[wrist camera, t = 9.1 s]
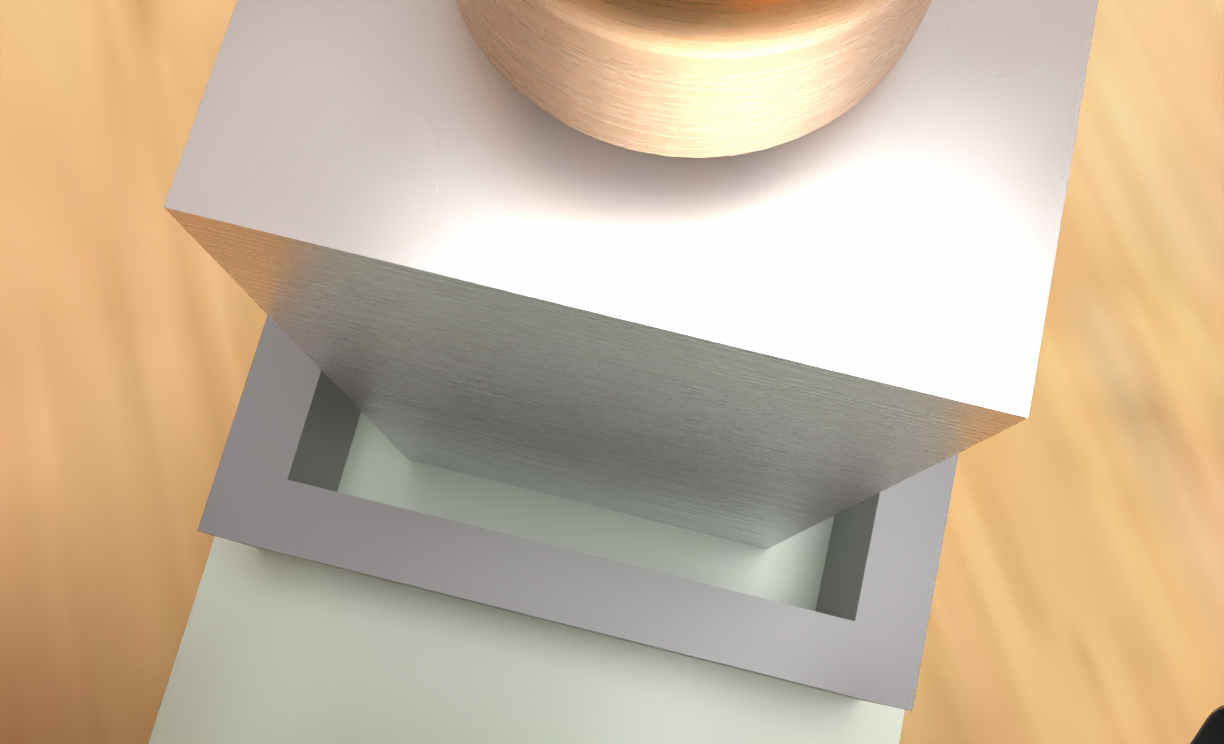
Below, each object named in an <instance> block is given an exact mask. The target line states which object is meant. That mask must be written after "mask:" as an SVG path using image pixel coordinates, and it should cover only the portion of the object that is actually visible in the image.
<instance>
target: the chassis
mask: <svg viewBox="0 0 1224 744" xmlns="http://www.w3.org/2000/svg"><path fill="white" fill-rule="evenodd" d="M957 458H958V453H957V454H955V455H953V456H952V457H950V458H948V459H946V460H944V461H942V462H940V463H938V464H936V465H934V466H932V467H930V468H928V469H926V470H924V471H922V472H920V473H918V474H916V475H914V476H912V477H910V478H908V479H906V480H904V481H902V482H900V483H898V484H896V485H894V486H892V487H890V488H888V489H886V490H884V491H882V492H880V493H878V494H876V495H874V496H872V497H870V498H868V499H866V500H864V501H862V502H860V503H858V504H856V505H854V506H852V507H850V508H848V509H846V510H844V511H842V512H840V513H838V514H836V515H834V516H832V517H830V518H828V519H826V520H824V521H822V522H820V523H818V524H816V525H814V526H812V527H810V528H808V529H806V530H804V531H802V532H800V533H798V534H796V535H794V536H792V537H790V538H789V539H787V540H785V541H783V542H781V543H779V544H777V545H775V546H773V547H771V548H769V549H765V548H761V547H757V546H753V545H749V544H745V543H740V542H736V541H732V540H728V539H724V538H720V537H716V536H712V535H708V534H704V533H700V532H696V531H692V530H688V529H684V528H680V527H676V526H672V525H668V524H664V523H660V522H656V521H652V520H648V519H644V518H640V517H636V516H632V515H628V514H624V513H620V512H616V511H612V510H608V509H604V508H600V507H596V506H592V505H588V504H584V503H580V502H576V501H572V500H568V499H564V498H560V497H556V496H552V495H548V494H544V493H540V492H536V491H532V490H528V489H524V488H520V487H516V486H512V485H508V484H504V483H500V482H496V481H492V480H488V479H484V478H480V477H476V476H472V475H468V474H464V473H460V472H456V471H452V470H448V469H444V468H440V467H436V466H432V465H428V464H424V463H420V462H416V461H412V460H408V459H407V458H406V457H405V456H404V455H403V454H402V453H401V452H400V451H399V450H398V449H397V448H396V446H395V445H394V444H393V443H392V442H391V441H390V440H389V439H388V438H387V437H386V436H385V435H384V434H383V433H382V432H381V431H380V430H379V429H378V428H377V427H376V426H375V425H374V424H373V423H372V422H371V421H370V420H369V419H368V418H367V417H366V416H365V414H364V413H363V412H362V411H361V410H360V409H359V408H358V407H357V406H356V405H355V404H354V403H353V402H352V401H351V400H350V399H349V398H348V397H347V396H346V395H345V394H344V393H343V392H342V391H341V390H340V389H339V388H338V387H337V386H336V385H335V384H334V382H333V381H332V380H331V379H330V378H329V377H328V376H327V375H326V374H325V373H324V372H323V371H322V370H321V369H320V368H319V367H318V366H317V365H316V364H315V363H314V362H313V361H312V360H311V359H310V358H309V357H308V356H307V355H306V354H305V353H304V352H303V350H302V349H301V348H300V347H299V346H298V345H297V344H296V343H295V342H294V341H293V340H292V339H291V338H290V337H289V336H288V335H287V334H286V333H285V332H284V331H283V330H282V329H281V328H280V327H279V326H278V325H277V324H276V323H275V322H274V321H273V320H272V318H271V317H270V316H269V315H268V316H267V319H266V322H265V325H264V328H263V331H262V334H261V337H260V340H259V343H258V346H257V350H256V353H255V356H254V359H253V362H252V365H251V368H250V371H249V374H248V377H247V380H246V383H245V386H244V390H243V393H242V396H241V399H240V402H239V405H238V408H237V411H236V414H235V417H234V420H233V423H232V426H231V430H230V433H229V436H228V439H227V442H226V445H225V448H224V451H223V454H222V457H221V460H220V463H219V466H218V469H217V473H216V476H215V479H214V482H213V485H212V488H211V491H210V494H209V497H208V500H207V503H206V506H205V509H204V513H203V516H202V519H201V522H200V525H199V528H198V531H199V532H202V533H206V534H209V535H213V536H215V538H214V541H213V544H212V547H211V550H210V553H209V556H208V559H207V562H206V566H205V569H204V572H203V575H202V578H201V581H200V584H199V587H198V590H197V594H196V597H195V600H194V603H193V606H192V609H191V612H190V615H189V618H188V622H187V625H186V628H185V631H184V634H183V637H182V640H181V643H180V646H179V650H178V653H177V656H176V659H175V662H174V665H173V668H172V671H171V674H170V678H169V681H168V684H167V687H166V690H165V693H164V696H163V699H162V702H161V706H160V709H159V712H158V715H157V718H156V721H155V724H154V727H153V730H152V734H151V737H150V740H149V743H148V744H899V741H900V735H901V730H902V724H903V719H904V713H905V710H909V711H912V709H913V703H914V697H915V692H916V686H917V681H918V675H919V670H920V664H921V658H922V653H923V647H924V642H925V636H926V631H927V625H928V620H929V614H930V608H931V603H932V597H933V592H934V586H935V581H936V575H937V569H938V564H939V558H940V553H941V547H942V542H943V536H944V530H945V525H946V519H947V514H948V508H949V503H950V497H951V492H952V486H953V480H954V475H955V469H956V464H957Z"/></svg>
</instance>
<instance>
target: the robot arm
mask: <svg viewBox="0 0 1224 744" xmlns="http://www.w3.org/2000/svg"><path fill="white" fill-rule="evenodd" d="M1190 744H1224V705H1223V706H1220V707H1219V708H1217V709H1216V710H1214V711H1213V712H1212V713H1211V714H1210V715H1209V717H1208V718H1207V719H1206V721H1205V722H1204V724H1203V725H1202V727H1201V728H1200V730H1199V731H1198V733H1197V734H1196V736H1195V737H1194V739H1193V740H1192V742H1191V743H1190Z"/></svg>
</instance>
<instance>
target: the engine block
mask: <svg viewBox="0 0 1224 744" xmlns="http://www.w3.org/2000/svg"><path fill="white" fill-rule="evenodd" d="M1097 4H1098V0H237V2H236V5H235V8H234V11H233V13H232V16H231V19H230V22H229V25H228V27H227V30H226V33H225V36H224V39H223V41H222V44H221V47H220V50H219V53H218V56H217V58H216V61H215V64H214V67H213V70H212V72H211V75H210V78H209V81H208V84H207V87H206V89H205V92H204V95H203V98H202V101H201V103H200V106H199V109H198V112H197V115H196V118H195V120H194V123H193V126H192V129H191V132H190V134H189V137H188V140H187V143H186V146H185V148H184V151H183V154H182V157H181V160H180V163H179V165H178V168H177V171H176V174H175V177H174V179H173V182H172V185H171V188H170V191H169V194H168V196H167V199H166V202H165V205H164V208H165V209H166V210H167V211H168V212H169V213H170V214H171V215H172V216H173V217H174V218H175V219H176V220H177V221H178V222H179V224H180V225H181V226H182V227H183V228H184V229H185V230H186V231H187V232H188V233H189V234H190V235H191V236H192V237H193V238H194V239H195V240H196V241H197V242H198V243H199V244H200V245H201V246H202V247H203V248H204V249H205V250H206V251H207V252H208V253H209V254H210V256H211V257H212V258H213V259H214V260H215V261H216V262H217V263H218V264H219V265H220V266H221V267H222V268H223V269H224V270H225V271H226V272H227V273H228V274H229V275H230V276H231V277H232V278H233V279H234V280H235V281H236V282H237V283H238V284H239V285H240V286H241V288H242V289H243V290H244V291H245V292H246V293H247V294H248V295H249V296H250V297H251V298H252V299H253V300H254V301H255V302H256V303H257V304H258V305H259V306H260V307H261V308H262V309H263V310H264V311H265V312H266V313H267V314H268V315H269V316H270V317H271V318H272V320H273V321H274V322H275V323H276V324H277V325H278V326H279V327H280V328H281V329H282V330H283V331H284V332H285V333H286V334H287V335H288V336H289V337H290V338H291V339H292V340H293V341H294V342H295V343H296V344H297V345H298V346H299V347H300V348H301V349H302V350H303V352H304V353H305V354H306V355H307V356H308V357H309V358H310V359H311V360H312V361H313V362H314V363H315V364H316V365H317V366H318V367H319V368H320V369H321V370H322V371H323V372H324V373H325V374H326V375H327V376H328V377H329V378H330V379H331V380H332V381H333V382H334V384H335V385H336V386H337V387H338V388H339V389H340V390H341V391H342V392H343V393H344V394H345V395H346V396H347V397H348V398H349V399H350V400H351V401H352V402H353V403H354V404H355V405H356V406H357V407H358V408H359V409H360V410H361V411H362V412H363V413H364V414H365V416H366V417H367V418H368V419H369V420H370V421H371V422H372V423H373V424H374V425H375V426H376V427H377V428H378V429H379V430H380V431H381V432H382V433H383V434H384V435H385V436H386V437H387V438H388V439H389V440H390V441H391V442H392V443H393V444H394V445H395V446H396V448H397V449H398V450H399V451H400V452H401V453H402V454H403V455H404V456H405V457H406V458H407V459H408V460H412V461H416V462H420V463H424V464H428V465H432V466H436V467H440V468H444V469H448V470H452V471H456V472H460V473H464V474H468V475H472V476H476V477H480V478H484V479H488V480H492V481H496V482H500V483H504V484H508V485H512V486H516V487H520V488H524V489H528V490H532V491H536V492H540V493H544V494H548V495H552V496H556V497H560V498H564V499H568V500H572V501H576V502H580V503H584V504H588V505H592V506H596V507H600V508H604V509H608V510H612V511H616V512H620V513H624V514H628V515H632V516H636V517H640V518H644V519H648V520H652V521H656V522H660V523H664V524H668V525H672V526H676V527H680V528H684V529H688V530H692V531H696V532H700V533H704V534H708V535H712V536H716V537H720V538H724V539H728V540H732V541H736V542H740V543H745V544H749V545H753V546H757V547H761V548H765V549H769V548H771V547H773V546H775V545H777V544H779V543H781V542H783V541H785V540H787V539H789V538H790V537H792V536H794V535H796V534H798V533H800V532H802V531H804V530H806V529H808V528H810V527H812V526H814V525H816V524H818V523H820V522H822V521H824V520H826V519H828V518H830V517H832V516H834V515H836V514H838V513H840V512H842V511H844V510H846V509H848V508H850V507H852V506H854V505H856V504H858V503H860V502H862V501H864V500H866V499H868V498H870V497H872V496H874V495H876V494H878V493H880V492H882V491H884V490H886V489H888V488H890V487H892V486H894V485H896V484H898V483H900V482H902V481H904V480H906V479H908V478H910V477H912V476H914V475H916V474H918V473H920V472H922V471H924V470H926V469H928V468H930V467H932V466H934V465H936V464H938V463H940V462H942V461H944V460H946V459H948V458H950V457H952V456H953V455H955V454H957V453H959V452H961V451H963V450H965V449H967V448H969V447H971V446H973V445H975V444H977V443H979V442H981V441H983V440H985V439H987V438H989V437H991V436H993V435H995V434H997V433H999V432H1001V431H1003V430H1005V429H1007V428H1009V427H1011V426H1013V425H1015V424H1017V423H1019V422H1021V421H1023V420H1025V419H1027V418H1028V415H1029V409H1030V403H1031V398H1032V392H1033V386H1034V380H1035V374H1036V368H1037V362H1038V356H1039V350H1040V344H1041V338H1042V332H1043V326H1044V320H1045V314H1046V308H1047V302H1048V296H1049V290H1050V284H1051V278H1052V272H1053V266H1054V261H1055V255H1056V249H1057V243H1058V237H1059V231H1060V225H1061V219H1062V213H1063V207H1064V201H1065V195H1066V189H1067V183H1068V177H1069V171H1070V165H1071V159H1072V153H1073V147H1074V141H1075V135H1076V129H1077V124H1078V118H1079V112H1080V106H1081V100H1082V94H1083V88H1084V82H1085V76H1086V70H1087V64H1088V58H1089V52H1090V46H1091V40H1092V34H1093V28H1094V22H1095V16H1096V10H1097Z"/></svg>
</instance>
